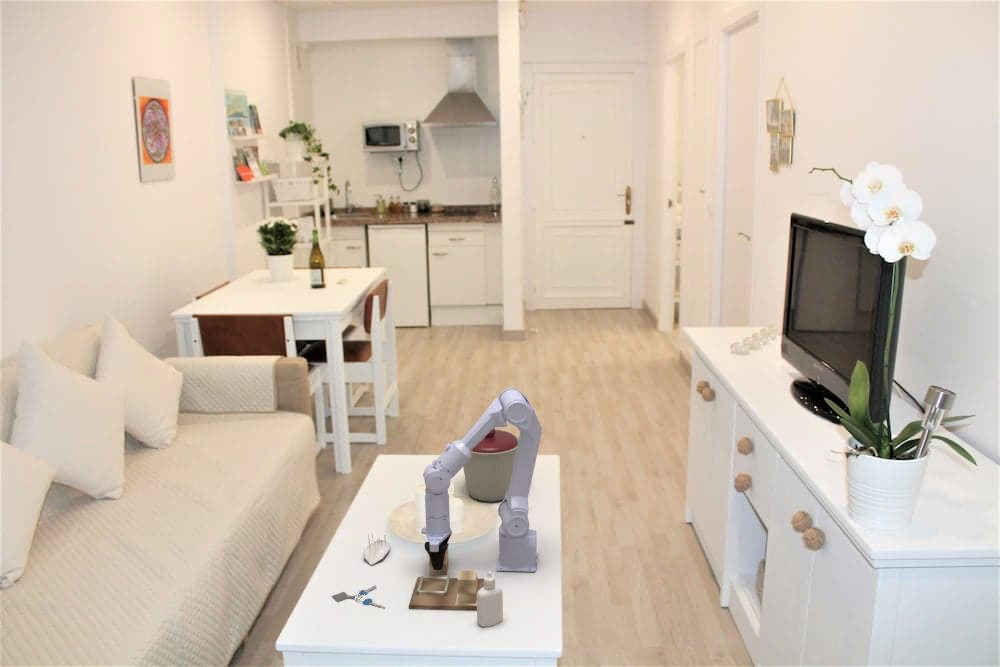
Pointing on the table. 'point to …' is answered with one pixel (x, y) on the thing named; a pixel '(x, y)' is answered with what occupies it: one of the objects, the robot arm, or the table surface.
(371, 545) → the pincushion
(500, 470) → the canister
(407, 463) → the table surface
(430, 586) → the board
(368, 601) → the key chain
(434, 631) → the table surface
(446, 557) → the maple peg
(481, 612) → the eye dropper bottle
